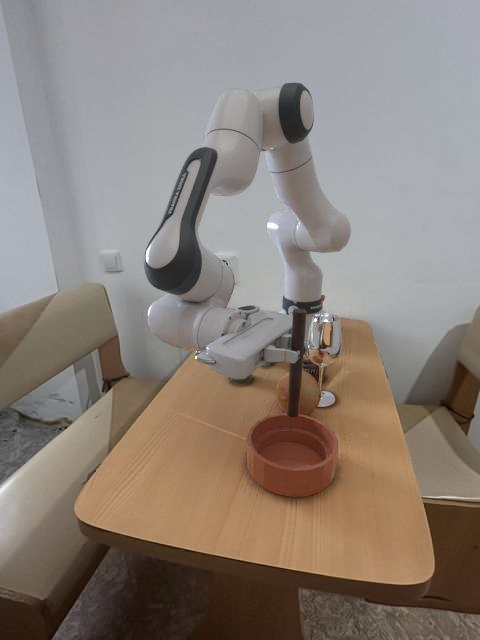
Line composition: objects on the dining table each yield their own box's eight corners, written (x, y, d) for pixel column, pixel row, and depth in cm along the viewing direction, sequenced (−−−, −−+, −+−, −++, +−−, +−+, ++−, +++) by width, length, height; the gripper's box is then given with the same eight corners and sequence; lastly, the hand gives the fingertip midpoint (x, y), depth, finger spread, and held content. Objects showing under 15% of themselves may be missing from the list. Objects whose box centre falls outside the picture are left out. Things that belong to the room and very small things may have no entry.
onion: (317, 429, 76) (321, 386, 72) (269, 421, 79) (271, 380, 74) (321, 404, 85) (325, 364, 80) (278, 397, 87) (280, 359, 83)
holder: (238, 373, 98) (237, 345, 95) (255, 378, 96) (255, 350, 92) (227, 381, 94) (226, 353, 91) (244, 387, 92) (244, 358, 88)
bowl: (272, 429, 76) (273, 404, 74) (346, 456, 69) (350, 429, 66) (230, 476, 64) (230, 448, 62) (315, 514, 57) (318, 484, 54)
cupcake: (300, 366, 102) (302, 332, 98) (333, 376, 97) (337, 340, 93) (282, 379, 95) (283, 343, 91) (316, 391, 90) (319, 353, 86)
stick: (289, 409, 63) (296, 307, 56) (300, 412, 62) (308, 309, 55) (284, 415, 62) (290, 311, 54) (295, 418, 61) (303, 313, 53)
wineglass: (314, 386, 92) (321, 309, 84) (342, 398, 87) (352, 317, 78) (294, 398, 87) (300, 317, 79) (323, 411, 82) (331, 326, 74)
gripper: (187, 337, 54) (271, 359, 47) (256, 302, 70) (327, 314, 63) (189, 376, 57) (270, 401, 50) (256, 333, 72) (324, 348, 66)
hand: (302, 352), depth 57 cm, fingers closed on stick, 2 cm apart
